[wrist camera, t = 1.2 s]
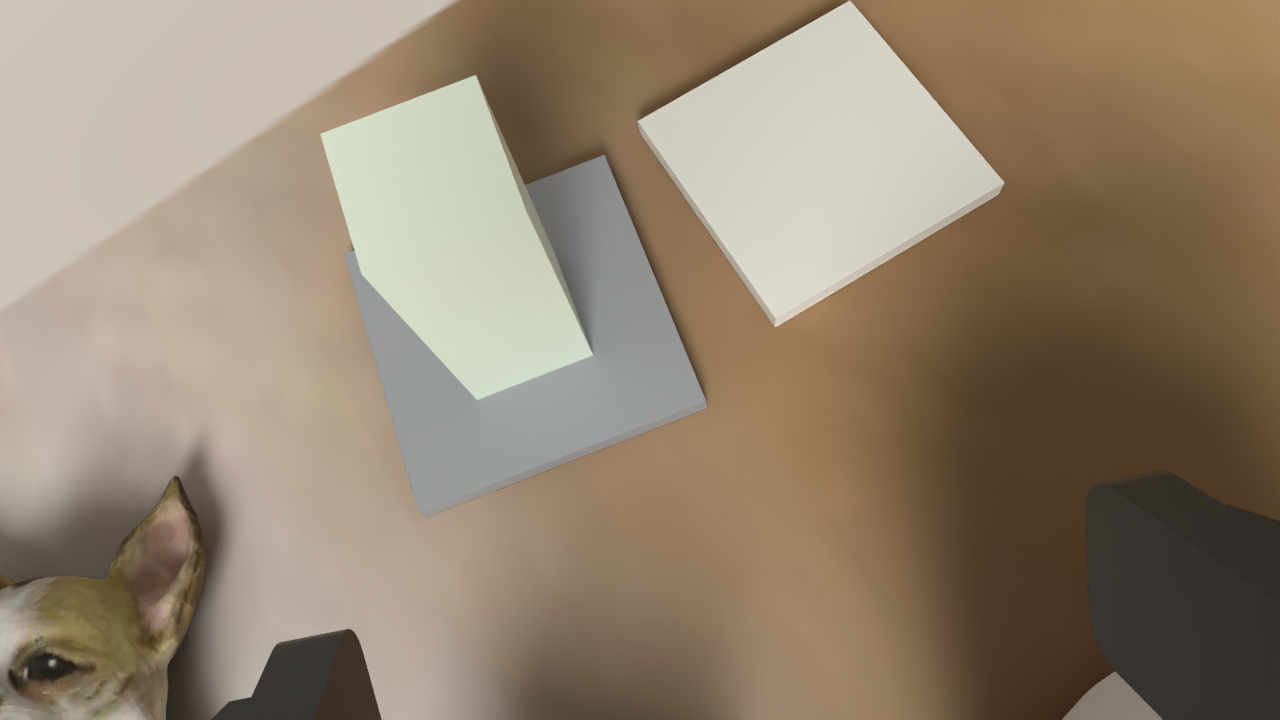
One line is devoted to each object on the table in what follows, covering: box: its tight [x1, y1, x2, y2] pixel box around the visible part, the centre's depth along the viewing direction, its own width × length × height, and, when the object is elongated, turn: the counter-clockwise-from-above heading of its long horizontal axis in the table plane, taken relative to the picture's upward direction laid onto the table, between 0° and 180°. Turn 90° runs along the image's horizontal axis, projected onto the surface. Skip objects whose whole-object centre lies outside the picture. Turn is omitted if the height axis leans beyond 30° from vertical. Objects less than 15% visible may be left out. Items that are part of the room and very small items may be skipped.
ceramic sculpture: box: [0, 476, 206, 720], centre depth 35 cm, size 11×9×15 cm
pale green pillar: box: [321, 75, 593, 400], centre depth 35 cm, size 5×5×12 cm
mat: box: [638, 1, 1004, 327], centre depth 42 cm, size 11×11×1 cm
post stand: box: [344, 155, 707, 517], centre depth 39 cm, size 12×12×6 cm
